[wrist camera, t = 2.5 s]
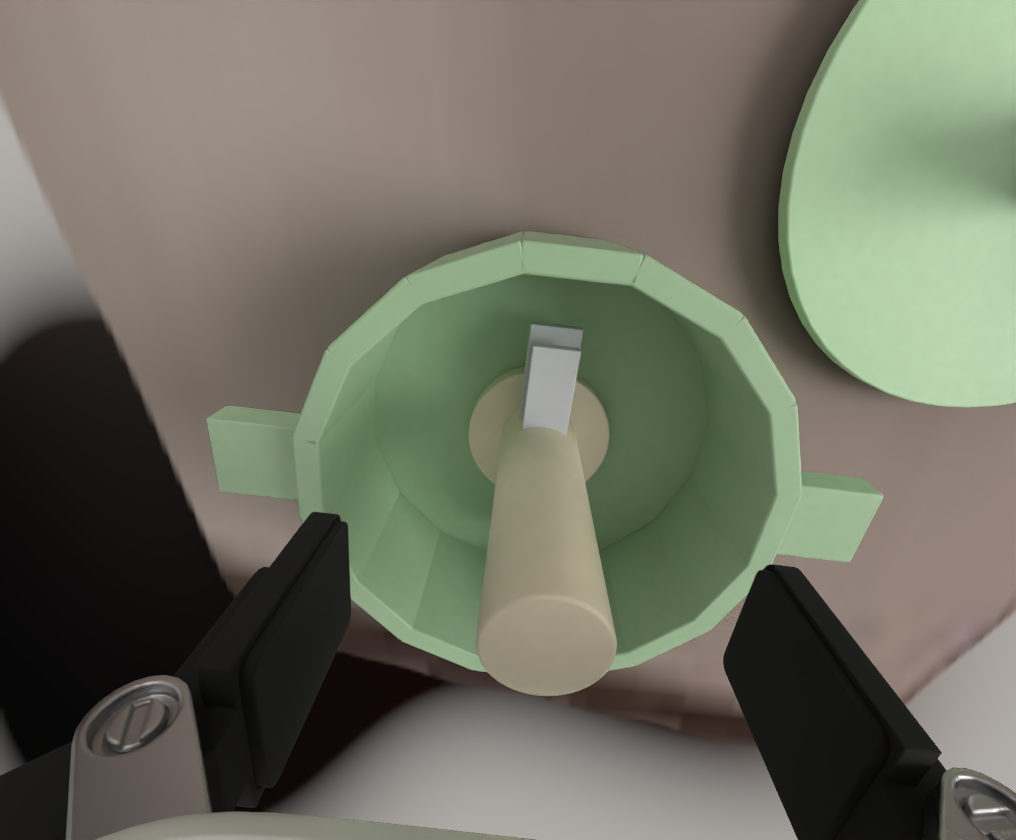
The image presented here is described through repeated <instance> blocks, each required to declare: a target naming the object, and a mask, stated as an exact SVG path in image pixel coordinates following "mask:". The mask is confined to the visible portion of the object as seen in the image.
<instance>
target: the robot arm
mask: <svg viewBox="0 0 1016 840" xmlns="http://www.w3.org/2000/svg"><path fill="white" fill-rule="evenodd" d="M350 616H351V595H350V566H349V537H348V524H347V522H344V521H341V518H340V515H338V514H331V513H323V512H312V513H311V514H310V515H309V516H308V517H307V519H306V520H305V521H304V523H303V524H302V525H301V527H300V528H299V529H298V531H297V532H296V533H295V534H294V536H293V537H292V538H291V540H290V541H289V542H288V544H287V545H286V546H285V548H284V549H283V550H282V552H281V553H280V554H279V556H278V557H277V558H276V559H275V561H274V562H273V563H272V565H271V566H270V567H263V568H261V569H259V570H258V571H257V572H256V573H255V574H254V575H253V576H252V577H251V579H250V580H249V581H248V583H247V584H246V585H245V586H244V588H243V589H242V590H241V591H240V593H239V594H238V595H237V596H236V598H235V599H234V600H233V602H232V603H231V604H230V605H229V607H228V608H227V609H226V611H225V612H224V613H223V614H222V616H221V617H220V618H219V619H218V621H217V622H216V623H215V624H214V626H213V627H212V628H211V629H210V631H209V632H208V633H207V635H206V636H205V637H204V638H203V640H202V641H201V642H200V643H199V645H198V646H197V647H196V648H195V650H194V651H193V652H192V653H191V655H190V656H189V657H188V659H187V660H186V661H185V662H184V664H183V665H182V666H181V667H180V669H179V670H178V671H177V673H176V674H175V675H174V676H173V677H172V676H167V675H162V676H150V677H147V678H143V679H140V680H136V681H133V682H131V683H129V684H127V685H125V686H123V687H121V688H119V689H117V690H115V691H113V692H112V693H111V694H109V695H108V696H106V697H105V698H104V699H102V700H101V701H99V702H98V703H97V704H96V705H95V706H94V707H93V708H92V709H91V710H90V711H89V712H88V713H87V714H86V715H85V717H84V718H83V720H82V721H81V723H80V724H79V726H78V727H77V729H76V731H75V734H74V738H73V741H72V742H70V743H68V744H66V745H64V746H62V747H60V748H58V749H56V750H53V751H51V752H49V753H47V754H45V755H43V756H41V757H39V758H36V759H35V760H32V761H30V762H28V763H26V764H24V765H22V766H20V767H18V768H16V769H13V770H12V771H10V772H7V773H5V774H3V775H1V776H0V840H534V839H525V838H516V837H508V836H499V835H490V834H480V833H471V832H462V831H453V830H444V829H435V828H426V827H417V826H408V825H399V824H390V823H381V822H372V821H361V820H349V819H339V818H327V817H315V816H305V815H294V814H283V813H258V812H233V811H234V809H235V807H236V806H242V807H250V808H256V806H257V804H258V802H259V800H260V797H261V795H262V793H263V791H264V789H265V787H269V788H272V787H274V786H275V784H276V783H277V781H278V779H279V777H280V775H281V773H282V770H283V768H284V766H285V764H286V762H287V759H288V757H289V755H290V753H291V751H292V748H293V746H294V744H295V742H296V740H297V737H298V735H299V733H300V731H301V729H302V727H303V724H304V722H305V720H306V718H307V716H308V713H309V711H310V709H311V707H312V705H313V702H314V700H315V698H316V696H317V693H318V691H319V689H320V687H321V685H322V683H323V680H324V678H325V676H326V674H327V672H328V669H329V667H330V665H331V663H332V661H333V658H334V656H335V654H336V652H337V650H338V647H339V645H340V643H341V641H342V639H343V636H344V634H345V632H346V630H347V627H348V624H349V621H350ZM723 662H724V669H725V672H726V675H727V677H728V679H729V682H730V684H731V686H732V688H733V691H734V693H735V695H736V698H737V700H738V702H739V705H740V707H741V709H742V712H743V714H744V716H745V718H746V721H747V723H748V725H749V728H750V730H751V732H752V735H753V737H754V739H755V742H756V744H757V746H758V749H759V751H760V753H761V755H762V758H763V760H764V762H765V765H766V767H767V769H768V772H769V774H770V776H771V778H772V781H773V783H774V785H775V788H776V790H777V792H778V795H779V797H780V799H781V802H782V804H783V806H784V808H785V811H786V813H787V816H788V818H789V820H790V822H791V825H792V827H793V829H794V832H795V834H796V836H797V838H798V840H1016V793H1014V792H1013V791H1012V790H1010V789H1009V788H1007V787H1006V786H1004V785H1003V784H1001V783H1000V782H998V781H996V780H994V779H992V778H990V777H988V776H986V775H984V774H982V773H980V772H976V771H973V770H970V769H967V768H951V769H949V770H947V771H946V769H945V768H944V767H943V765H942V764H941V763H940V761H939V760H938V759H937V758H938V757H939V756H940V754H941V751H940V750H939V749H938V747H937V746H936V745H935V743H934V742H933V741H932V740H931V738H930V737H929V736H928V734H927V733H926V732H925V731H924V729H923V728H922V727H921V726H920V724H919V723H918V722H917V720H916V719H915V718H914V716H913V715H912V714H911V713H910V711H909V710H908V709H907V707H906V706H905V705H904V703H903V702H902V701H901V700H900V698H899V697H898V696H897V694H896V693H895V692H894V691H893V689H892V688H891V687H890V685H889V684H888V683H887V682H886V680H885V679H884V678H883V676H882V675H881V674H880V673H879V671H878V670H877V669H876V667H875V666H874V665H873V664H872V662H871V661H870V660H869V658H868V657H867V656H866V654H865V653H864V652H863V651H862V649H861V648H860V647H859V645H858V644H857V643H856V642H855V640H854V639H853V638H852V636H851V635H850V634H849V633H848V631H847V630H846V629H845V627H844V626H843V625H842V624H841V622H840V621H839V620H838V618H837V617H836V616H835V614H834V613H833V612H832V611H831V609H830V608H829V607H828V605H827V604H826V603H825V602H824V600H823V599H822V598H821V596H820V595H819V594H818V593H817V591H816V590H815V589H814V587H813V586H812V585H811V584H810V582H809V581H808V580H807V578H806V577H805V576H804V575H803V573H802V572H801V571H800V570H799V569H798V568H795V567H789V566H781V565H772V564H770V565H767V566H766V567H765V568H764V569H763V570H759V571H758V572H757V573H756V575H755V578H754V580H753V583H752V585H751V588H750V590H749V593H748V595H747V598H746V600H745V603H744V605H743V608H742V610H741V613H740V615H739V618H738V620H737V623H736V626H735V628H734V631H733V633H732V636H731V638H730V641H729V643H728V646H727V648H726V651H725V653H724V659H723Z"/></svg>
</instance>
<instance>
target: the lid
mask: <svg viewBox="0 0 1016 840" xmlns="http://www.w3.org/2000/svg"><path fill="white" fill-rule="evenodd" d="M778 242H779V250H780V257H781V265H782V271H783V275H784V279H785V282H786V286H787V289H788V293H789V296H790V299H791V301H792V303H793V306H794V308H795V310H796V312H797V314H798V316H799V318H800V321H801V323H802V324H803V326H804V327H805V329H806V330H807V332H808V333H809V334H810V336H811V337H812V339H813V340H814V342H815V343H816V345H817V346H818V347H819V348H820V349H821V350H822V351H823V352H824V353H825V354H826V355H827V356H828V357H829V358H830V359H831V360H832V361H833V362H834V363H835V364H837V365H838V366H840V367H841V368H842V369H844V370H845V371H846V372H848V373H849V374H851V375H852V376H853V377H855V378H857V379H859V380H861V381H863V382H865V383H867V384H869V385H871V386H873V387H875V388H877V389H879V390H881V391H883V392H884V393H887V394H890V395H893V396H896V397H899V398H902V399H905V400H908V401H912V402H918V403H923V404H929V405H935V406H947V407H966V408H968V407H984V406H999V405H1005V404H1011V403H1016V0H859V1H858V3H857V4H856V5H855V7H854V8H853V10H852V11H851V13H850V14H849V16H848V18H847V19H846V21H845V23H844V24H843V26H842V28H841V29H840V31H839V33H838V34H837V36H836V38H835V39H834V41H833V43H832V44H831V46H830V47H829V49H828V51H827V53H826V55H825V57H824V59H823V61H822V63H821V65H820V67H819V69H818V71H817V74H816V76H815V78H814V80H813V82H812V84H811V86H810V88H809V90H808V92H807V95H806V97H805V100H804V103H803V106H802V108H801V111H800V114H799V117H798V119H797V122H796V125H795V128H794V130H793V133H792V137H791V141H790V145H789V149H788V153H787V157H786V161H785V165H784V169H783V175H782V183H781V191H780V198H779V206H778Z"/></svg>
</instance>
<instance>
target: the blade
mask: <svg viewBox="0 0 1016 840" xmlns="http://www.w3.org/2000/svg"><path fill="white" fill-rule="evenodd" d="M582 335H583V329H582V327H577V326H568V325H559V324H551V323H542V322H533V321H532V322H531V324H530V332H529V340H528V348H527V356H526V364H525V366H524V367H519V368H517V369H514V370H511V371H509V372H507V373H504V374H502V375H501V376H499V377H498V378H496V379H495V380H494V381H493V382H491V383H490V384H489V385H488V386H487V387H486V388H485V390H484V391H483V392H482V393H481V395H480V396H479V398H478V400H477V402H476V404H475V406H474V409H473V412H472V416H471V419H470V423H469V430H468V439H469V446H470V450H471V453H472V456H473V458H474V460H475V462H476V464H477V466H478V467H479V469H480V470H481V471H482V473H483V474H484V475H485V476H486V477H487V478H488V479H489V480H490V481H491V482H493V483H494V484H495V485H496V486H495V493H494V501H493V509H492V517H491V525H490V533H489V541H488V548H487V556H486V564H485V572H484V580H483V588H482V596H481V603H480V611H479V619H478V627H477V635H476V649H477V653H478V656H479V659H480V661H481V663H482V665H483V667H484V668H485V669H486V671H487V672H488V673H489V674H490V675H491V676H492V677H493V678H494V679H496V680H497V681H498V682H500V683H502V684H503V685H505V686H507V687H509V688H511V689H513V690H516V691H519V692H522V693H526V694H531V695H539V696H556V695H564V694H569V693H573V692H576V691H579V690H582V689H584V688H586V687H588V686H590V685H592V684H594V683H595V682H596V681H598V680H599V679H600V678H601V677H602V676H603V675H605V673H606V672H607V671H608V670H609V668H610V666H611V665H612V663H613V660H614V658H615V655H616V649H617V639H616V634H615V629H614V624H613V619H612V614H611V609H610V604H609V599H608V594H607V589H606V584H605V579H604V574H603V569H602V564H601V559H600V554H599V549H598V544H597V539H596V534H595V530H594V525H593V520H592V515H591V510H590V505H589V500H588V495H587V490H586V485H585V482H586V481H587V480H588V479H589V478H591V477H592V476H593V474H594V473H595V472H596V471H597V470H598V468H599V467H600V465H601V464H602V462H603V460H604V458H605V455H606V453H607V449H608V446H609V439H610V429H609V422H608V418H607V415H606V412H605V409H604V407H603V404H602V402H601V400H600V398H599V397H598V395H597V394H596V392H595V391H594V390H593V388H592V387H591V386H590V385H589V384H588V383H587V382H585V381H584V380H583V379H582V378H580V377H579V376H577V372H578V367H579V361H580V355H581V351H580V347H581V341H582Z"/></svg>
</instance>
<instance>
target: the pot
mask: <svg viewBox="0 0 1016 840" xmlns="http://www.w3.org/2000/svg"><path fill="white" fill-rule="evenodd" d="M532 321H533V322H542V323H551V324H559V325H568V326H577V327H582V329H583V335H582V341H581V347H580V351H581V355H580V361H579V367H578V372H577V376H579V377H580V378H582V379H583V380H584V381H585V382H587V383H588V384H589V385H590V386H591V387H592V388H593V390H594V391H595V392H596V394H597V395H598V397H599V398H600V400H601V402H602V404H603V407H604V409H605V412H606V415H607V418H608V422H609V429H610V439H609V446H608V449H607V453H606V455H605V458H604V460H603V462H602V464H601V465H600V467H599V468H598V470H597V471H596V472H595V473H594V474H593V476H592V477H591V478H589V479H588V480H587V481H586V482H585V485H586V490H587V495H588V500H589V505H590V510H591V515H592V520H593V525H594V530H595V534H596V539H597V544H598V549H599V554H600V559H601V564H602V569H603V574H604V579H605V584H606V589H607V594H608V599H609V604H610V609H611V614H612V619H613V624H614V629H615V634H616V639H617V649H616V655H615V658H614V660H613V663H612V665H611V666H610V668H609V670H616V669H622V668H628V667H632V666H633V665H634V666H637V665H639V664H641V663H643V662H645V661H647V660H649V659H651V658H653V657H656V656H658V655H660V654H662V653H664V652H666V651H668V650H670V649H672V648H674V647H676V646H679V645H681V644H683V643H685V642H687V641H689V640H691V639H693V638H695V637H697V636H700V635H702V634H704V633H706V632H707V631H710V630H711V629H712V628H713V627H714V626H715V625H716V624H717V623H718V622H719V621H720V620H721V619H722V618H723V617H724V616H725V615H726V614H727V613H728V612H729V611H730V610H731V609H732V608H733V607H734V606H736V605H737V604H738V603H739V602H740V601H741V600H742V599H743V598H744V597H745V596H746V595H747V594H748V593H749V590H750V588H751V585H752V583H753V580H754V578H755V575H756V573H757V572H758V571H759V570H763V569H764V568H765V567H766V566H767V565H770V564H772V563H773V561H774V559H775V556H776V554H779V555H788V556H797V557H806V558H815V559H824V560H832V561H841V562H850V561H851V559H852V557H853V555H854V553H855V551H856V549H857V547H858V545H859V543H860V541H861V539H862V537H863V536H864V534H865V532H866V530H867V528H868V526H869V524H870V522H871V520H872V518H873V516H874V514H875V512H876V510H877V509H878V507H879V505H880V503H881V501H882V499H883V494H881V493H880V492H879V491H878V490H876V489H875V488H874V487H873V486H871V485H870V484H869V483H868V482H866V481H865V480H864V479H863V478H860V477H851V476H842V475H833V474H824V473H816V472H807V471H801V461H800V442H799V424H798V406H797V403H796V399H795V397H794V396H793V394H792V392H791V391H790V389H789V387H788V386H787V384H786V383H785V381H784V379H783V378H782V376H781V374H780V373H779V371H778V370H777V368H776V366H775V365H774V363H773V361H772V360H771V358H770V356H769V355H768V353H767V352H766V350H765V348H764V347H763V345H762V343H761V342H760V340H759V338H758V337H757V335H756V334H755V332H754V330H753V329H752V327H751V325H750V324H749V322H748V320H747V319H746V317H744V316H743V314H742V313H741V312H739V311H738V310H736V309H734V308H733V307H731V306H730V305H728V304H726V303H725V302H723V301H721V300H720V299H718V298H716V297H715V296H713V295H712V294H710V293H708V292H707V291H705V290H703V289H702V288H700V287H698V286H697V285H695V284H694V283H692V282H690V281H689V280H687V279H685V278H684V277H682V276H680V275H679V274H677V273H676V272H674V271H672V270H671V269H669V268H667V267H666V266H664V265H662V264H661V263H659V262H658V261H656V260H654V259H653V258H651V257H649V256H648V255H645V254H643V253H640V252H637V251H635V250H632V249H630V248H627V247H624V246H622V245H619V244H616V243H614V242H611V241H608V240H601V239H592V238H584V237H575V236H570V235H560V234H549V233H540V232H532V231H525V232H523V231H521V232H518V233H514V234H511V235H508V236H505V237H502V238H499V239H495V240H492V241H489V242H484V243H482V244H479V245H477V246H473V247H470V248H467V249H464V250H461V251H458V252H454V253H451V254H448V255H445V256H443V257H441V258H439V259H437V260H435V261H433V262H432V263H430V264H428V265H426V266H424V267H422V268H420V269H418V270H416V271H414V272H412V273H410V274H409V275H407V276H406V277H404V278H402V279H401V280H400V281H399V282H398V283H397V284H396V285H395V286H393V287H392V288H391V289H390V290H389V291H388V292H387V293H386V294H385V295H384V296H383V297H381V298H380V299H379V300H378V301H377V302H376V303H375V304H374V305H373V306H372V307H370V308H369V309H368V310H367V311H366V312H365V313H364V314H363V315H362V316H361V317H359V318H358V319H357V320H356V321H355V322H354V323H353V324H352V325H351V326H350V327H348V328H347V329H346V330H345V331H344V332H343V333H342V334H341V335H340V336H339V337H338V338H336V339H335V340H334V341H333V342H332V343H331V344H330V345H329V346H328V348H327V349H326V350H325V352H324V354H323V357H322V359H321V362H320V365H319V367H318V370H317V372H316V375H315V377H314V380H313V383H312V385H311V388H310V390H309V393H308V396H307V398H306V401H305V403H304V406H303V409H302V411H301V414H299V413H290V412H281V411H273V410H264V409H255V408H246V407H237V406H229V405H228V406H225V407H224V408H222V409H221V410H219V411H218V412H216V413H214V414H213V415H211V416H210V417H208V418H207V426H208V431H209V437H210V442H211V448H212V454H213V459H214V465H215V471H216V476H217V482H218V487H219V491H220V492H228V493H237V494H246V495H255V496H264V497H273V498H281V499H290V500H298V503H299V513H300V519H301V521H302V524H303V523H304V521H305V520H306V519H307V517H308V516H309V515H310V514H311V513H312V512H323V513H331V514H338V515H340V518H341V521H344V522H347V524H348V537H349V566H350V595H351V599H352V600H353V601H354V602H355V603H356V604H358V605H359V606H360V607H361V608H362V609H364V610H365V611H366V612H367V613H368V614H370V615H371V616H372V617H373V618H374V619H375V620H377V621H378V622H379V623H380V624H381V625H383V626H384V627H385V628H386V629H387V630H389V631H390V632H391V633H392V634H393V635H395V636H396V637H397V638H398V639H400V640H401V641H402V642H405V643H407V644H410V645H412V646H415V647H417V648H419V649H422V650H424V651H427V652H429V653H432V654H434V655H437V656H439V657H441V658H444V659H446V660H449V661H451V662H454V663H456V664H458V665H461V666H463V667H466V668H468V669H471V670H476V671H482V672H487V671H486V669H485V668H484V667H483V665H482V663H481V661H480V659H479V656H478V653H477V649H476V635H477V627H478V619H479V611H480V603H481V596H482V588H483V580H484V572H485V564H486V556H487V548H488V541H489V533H490V525H491V517H492V509H493V501H494V493H495V486H496V485H495V484H494V483H493V482H491V481H490V480H489V479H488V478H487V477H486V476H485V475H484V474H483V473H482V471H481V470H480V469H479V467H478V466H477V464H476V462H475V460H474V458H473V456H472V453H471V450H470V446H469V439H468V430H469V423H470V419H471V416H472V412H473V409H474V406H475V404H476V402H477V400H478V398H479V396H480V395H481V393H482V392H483V391H484V390H485V388H486V387H487V386H488V385H489V384H490V383H491V382H493V381H494V380H495V379H496V378H498V377H499V376H501V375H502V374H504V373H507V372H509V371H511V370H514V369H517V368H519V367H524V366H525V364H526V356H527V348H528V340H529V332H530V324H531V322H532ZM609 670H608V671H609Z"/></svg>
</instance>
